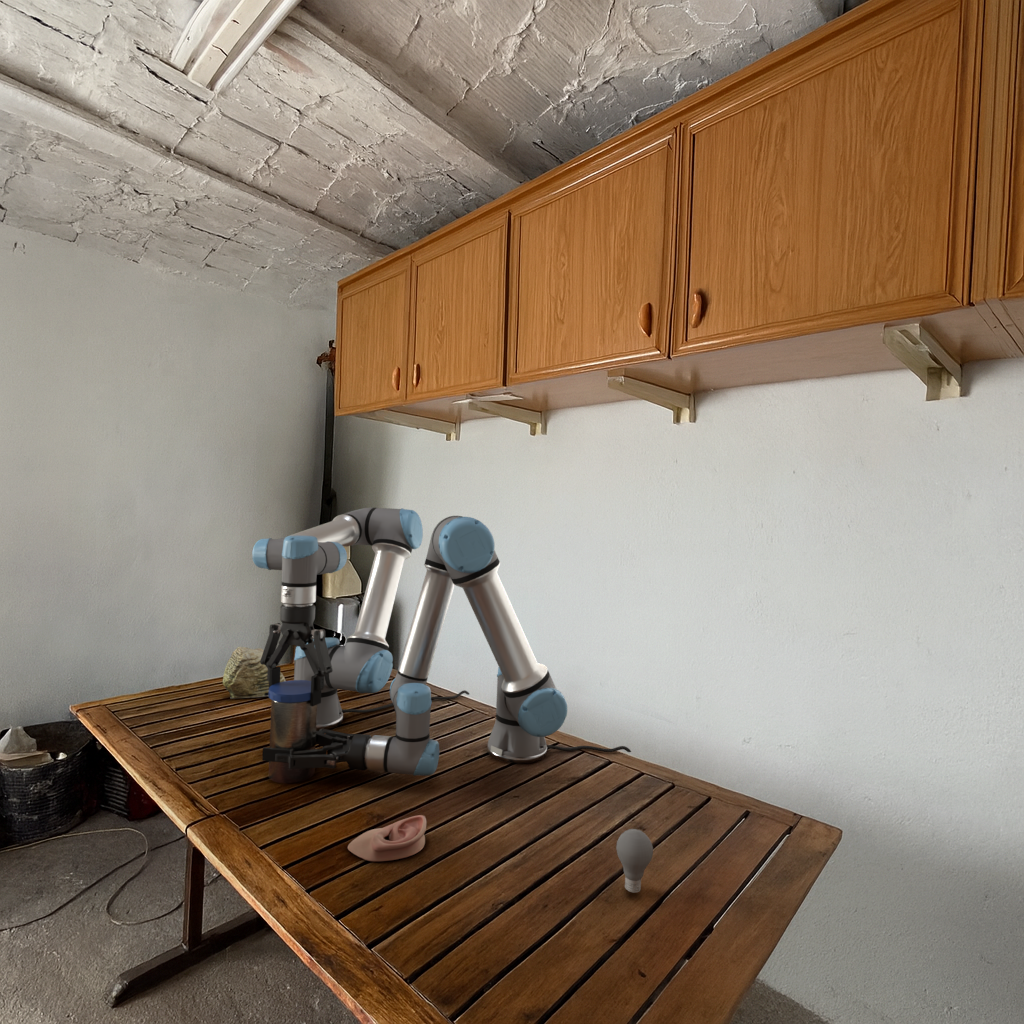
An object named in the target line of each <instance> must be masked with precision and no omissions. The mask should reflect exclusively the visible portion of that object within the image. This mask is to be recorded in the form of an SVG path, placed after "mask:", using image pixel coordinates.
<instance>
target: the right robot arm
mask: <svg viewBox="0 0 1024 1024" xmlns="http://www.w3.org/2000/svg"><path fill="white" fill-rule="evenodd" d="M423 565H424V568H425V569H426V572H425V575H424V579H423V583H422V586H421V590H420V593H419V596H418V599H417V602H416V607H415V610H414V613H413V616H412V619H411V624H410V627H409V631H408V634H407V637H406V641H405V644H404V647H403V651H402V655H401V658H400V661H399V664H398V668H397V672H396V674H395V677H394V678H393V680H391V683H390V686H389V698H390V701H391V702H392V703H393V705H394V706H393V709H394V712H395V736H391V735H379V734H378V735H377V734H374V735H371V734H363V733H362V734H361V733H356V734H355V733H345V732H340V731H336V730H332V729H329V730H327V729H320V730H319V731H316V746H317V745H318V746H321V748H315V749H313V750H304V751H295V752H293V748H292V749H280V748H270V746H269V747H267V746H264V747H263V748H262V756H261V757H262V758H261V759H262V760H261V761H262V762H269V761H272V762H283V763H289V768H290V769H299V768H315V769H333V770H334V769H336V768H337V763H347V765H348V768H349V769H350V770H352V771H353V770H354V771H366V770H368V771H370V772H377V773H378V772H379V774H384V773H392V774H400V775H410V776H414V777H415V776H425V777H426V776H432V775H435V772H437V768H438V765H439V759H440V743H439V742H438V740H435V739H432V738H431V736H430V732H431V731H430V729H431V728H430V726H431V710H432V703H433V700H431V697H432V690H431V687H430V686H428V685H427V682H428V678H429V675H430V671H431V668H432V664H433V661H434V658H435V654H436V650H437V647H438V645H439V640H440V638H441V633H442V630H443V627H444V623H445V619H446V617H447V613H448V610H449V607H450V603H451V599H452V597H453V593H454V590H455V586H456V587H459V588H462V590H463V591H464V594H465V596H466V598H467V601H468V603H469V605H470V606H471V609H472V611H473V614H474V617H475V619H476V620H477V623H478V625H479V628H480V629H481V631H482V633H483V635H484V638H485V639H486V642H487V644H488V647H489V649H490V650H491V653H492V655H493V657H494V659H495V662H496V664H497V666H498V668H497V669H498V670H497V674H496V678H497V679H496V680H497V681H496V702H495V703H496V707H495V721H494V725H493V727H492V730H491V733H490V735H489V737H488V741H487V746H486V747H487V750H486V751H487V753H488V755H489V756H490V757H492V758H493V759H495V760H497V761H501V762H504V763H509V764H531V763H536V762H539V761H542V760H543V759H545V758H546V756H547V753H548V750H549V749H550V750H556V751H561V752H573V751H579V750H589V751H597V752H601V753H614V752H618V751H623V750H624V751H626V752H627V753H632V751H631V749H630V748H629V747H628V746H625V745H619V746H616V747H613V748H604V747H597V746H593V745H577V746H571V747H563V746H557V745H551V744H547V740H546V737H549V736H551V735H553V734H555V733H556V732H557V731H558V730H559V729H560V728H562V726H563V725H564V723H565V720H566V718H567V715H568V703H567V700H566V698H565V696H564V694H563V693H562V692H561V691H560V690H559V689H558V688H557V687H556V684H555V682H554V681H553V678H552V676H551V674H550V672H549V670H548V667H547V666H546V665H545V664H543V663H540V662H538V661H537V658H536V656H535V654H534V652H533V651H534V650H532V647H531V645H530V643H529V640H528V638H527V636H526V634H525V632H524V629H523V627H522V625H521V623H520V620H519V618H518V616H517V614H516V612H515V611H516V610H515V609H514V607H513V605H512V602H511V600H510V598H509V596H508V593H507V591H506V589H505V587H504V584H503V583H502V580H501V578H500V576H499V574H498V573H499V572H498V571H499V569H500V566H501V561H500V559H499V557H498V555H497V553H496V550H495V539H494V536H493V534H492V532H491V530H490V529H489V528H488V527H487V526H486V524H484V522H482V521H481V520H479V519H476V518H474V517H471V516H462V515H450V516H447V517H444V518H442V519H441V520H440V521H439V522H438V523H437V524H436V525H435V527H434V528H433V531H432V532H431V536H430V540H429V545H428V549H427V553H426V557H425V560H424V564H423Z"/></svg>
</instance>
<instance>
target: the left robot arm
mask: <svg viewBox="0 0 1024 1024" xmlns="http://www.w3.org/2000/svg"><path fill="white" fill-rule="evenodd" d="M423 536H424V533H423V524H422V520H421V517H420V515H419V513H418V512H417V511H416V510H413V509H406V508H404V507H403V508H387V507H372V506H371V507H364V508H359V509H355V510H351V511H347V512H345V513H342V514H338V515H337V516H335V517H334V518H333V519H332V520H331V521H328V522H326V523H322V524H319V525H317V526H313V527H310V528H307V529H304V530H301V531H298V532H296V533H292V534H290V535H289V534H288V535H286V536H282V537H279V538H271V537H269V538H260V539H259V540H257V541H256V542H255V543H254V545H253V548H252V552H251V554H252V562H253V563H254V565H255V566H256V567H257V568H258V569H259V568H260V569H266V570H268V571H272V570H273V571H281V587H280V603H282V604H281V606H280V608H279V609H280V611H279V620H280V622H277V623H272V624H269V632H268V636H267V640H266V643H265V646H264V648H263V650H264V651H263V654H262V657H261V660H260V663H261V664H262V665H263V664H264V665H266V667H267V668H268V672H267V680H268V682H269V687H270V686H272V685H273V684H276V683H279V682H280V672H281V669H282V668H281V666H280V665H281V664H280V662H281V660H282V659H283V657H284V656H285V654H286V652H287V651H288V649H289V647H290V646H296V647H295V652H294V653H295V654H294V659H293V660H294V672H293V680H307V681H311V699H310V706H315V705H317V720H316V731H319V730H320V729H327V730H332V729H335V728H337V727H339V726H340V725H342V723H343V722H344V713H355V714H356V713H358V714H365V713H372V712H377V711H381V710H384V709H388V708H392V707H394V705H393V702H392V703H389V704H385V705H381V706H377V707H373V708H366V709H357V708H354V709H353V708H352V709H350V708H349V709H347V708H344V709H343V708H342V706H341V702H340V699H339V695H338V690H341V691H350V692H357V693H359V694H376V693H378V692H380V691H381V690H382V689H383V688H384V687H385V685H386V684H387V683H388V681H389V679H390V677H391V675H392V671H393V668H394V667H393V666H394V663H393V661H394V657H393V654H392V652H390V651H389V648H390V645H389V644H388V642H387V640H386V637H387V633H388V629H389V625H390V621H391V616H392V612H393V608H394V604H395V601H396V595H397V591H398V587H399V583H400V579H401V576H402V575H401V574H402V571H403V567H404V562H405V561H406V560H408V559H410V557H411V555H412V551H413V550H417V549H419V548H420V547H421V545H422V543H423V538H424V537H423ZM355 545H357V546H358V545H359V546H371V549H372V550H373V552H374V558H373V562H372V565H371V568H370V573H369V577H368V580H367V584H366V588H365V592H364V594H363V595H364V596H363V599H362V603H361V607H360V611H359V615H358V618H357V621H356V626H355V628H354V632H353V634H350V635H349V636H347V638H346V641H345V645H340V644H341V641H340V639H339V638H337V637H326V630H325V629H324V628H322V629H321V628H320V629H315V627H314V622H315V620H316V605H315V604H314V603H316V601H317V576H319V575H324V574H333V573H335V572H339V571H341V570H342V569H343V568H344V567H345V565H346V563H347V562H348V554H347V550H346V548H347V547H351V546H355ZM345 547H346V548H345ZM281 634H282V636H281ZM463 694H466V695H467V696H468V695H470V692H469V691H467V690H461V691H460V692H458V693H457V694H455V695H451V696H431V701H438V700H439V701H442V700H443V701H444V700H445V701H447V700H448V701H449V700H454V699H457V698H459V697H461V696H462V695H463Z"/></svg>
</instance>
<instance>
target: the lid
mask: <svg viewBox="0 0 1024 1024" xmlns="http://www.w3.org/2000/svg"><path fill="white" fill-rule="evenodd" d="M268 695H269V696H268V698H269V700H270V701H271V700H274V701H277V702H285V703H294V702H304V701H309V700H310V699H311V681H307V680H294V679H293V680H292V679H291V680H286V681H284V682H279V683H276V684H273V685H272V686H270V687H269V692H268Z"/></svg>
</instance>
